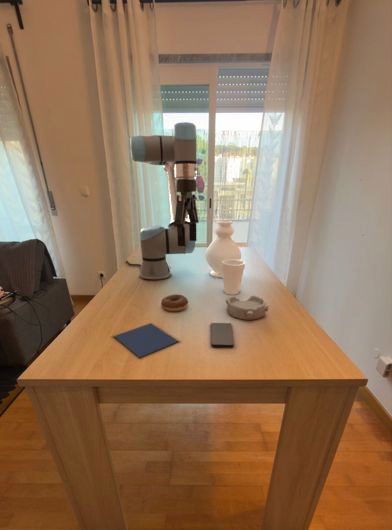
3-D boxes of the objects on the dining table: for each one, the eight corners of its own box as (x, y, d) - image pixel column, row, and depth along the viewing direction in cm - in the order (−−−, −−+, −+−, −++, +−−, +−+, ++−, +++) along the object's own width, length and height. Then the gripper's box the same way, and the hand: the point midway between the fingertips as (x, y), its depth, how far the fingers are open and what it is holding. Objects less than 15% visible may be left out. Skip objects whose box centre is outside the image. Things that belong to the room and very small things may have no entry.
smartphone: (230, 322, 98) (234, 345, 85) (230, 325, 98) (233, 347, 85) (210, 322, 98) (211, 344, 85) (210, 324, 98) (210, 347, 85)
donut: (189, 312, 107) (188, 302, 105) (161, 313, 106) (160, 303, 104) (187, 301, 116) (187, 292, 114) (161, 302, 115) (161, 293, 113)
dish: (220, 309, 109) (221, 297, 107) (251, 303, 114) (252, 291, 111) (240, 325, 98) (241, 311, 95) (273, 318, 103) (275, 305, 100)
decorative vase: (230, 267, 156) (233, 217, 143) (245, 277, 142) (250, 223, 128) (200, 270, 151) (200, 219, 138) (212, 281, 137) (213, 225, 124)
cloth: (113, 337, 91) (113, 336, 91) (150, 324, 99) (150, 323, 99) (139, 358, 81) (139, 357, 81) (178, 341, 89) (178, 341, 88)
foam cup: (241, 296, 120) (244, 266, 113) (219, 295, 122) (221, 264, 115) (242, 288, 128) (245, 259, 121) (222, 287, 130) (223, 258, 123)
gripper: (184, 177, 87) (186, 249, 98) (206, 180, 108) (205, 239, 118) (162, 177, 89) (166, 248, 100) (187, 180, 110) (188, 238, 120)
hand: (187, 243), depth 109 cm, fingers open, 13 cm apart
